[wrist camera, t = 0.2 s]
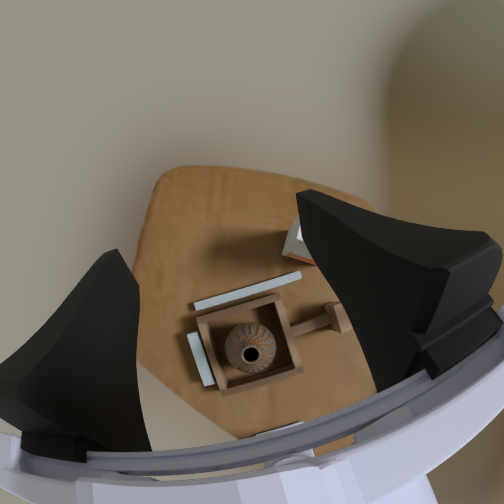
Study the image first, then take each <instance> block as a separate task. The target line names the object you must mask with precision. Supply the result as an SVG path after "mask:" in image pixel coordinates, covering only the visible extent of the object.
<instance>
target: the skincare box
mask: <svg viewBox="0 0 504 504" xmlns="http://www.w3.org/2000/svg"><path fill="white" fill-rule="evenodd" d="M282 255H283V256H287V257H291V258H294V259H298V260H301V261H304V262H307V263H310V264H314V265H316V263H315V262H314V260H313V259H312V257H311V255H310V253H309V251H308V249H307V247H306V245H305V243H304V241H303V239H302V236H301V228H300V220H299V214H298V216H297V217H296V219H295V221H294V222H293V224H292V225H291V227H290V228H289V230H288V234H287V237H286V241H285V245H284V248H283V252H282Z"/></svg>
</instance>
